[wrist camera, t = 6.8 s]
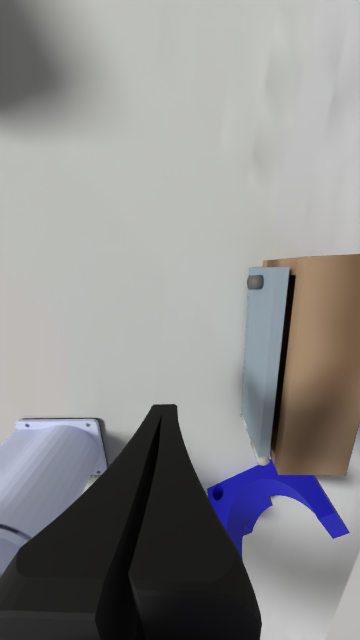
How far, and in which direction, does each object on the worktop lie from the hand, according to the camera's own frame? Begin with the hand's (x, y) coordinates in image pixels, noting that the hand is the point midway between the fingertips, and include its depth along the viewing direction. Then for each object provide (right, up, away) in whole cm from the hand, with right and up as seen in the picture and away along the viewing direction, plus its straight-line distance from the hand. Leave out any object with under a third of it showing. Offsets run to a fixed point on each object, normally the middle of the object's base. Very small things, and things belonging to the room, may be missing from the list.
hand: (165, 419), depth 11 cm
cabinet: (+11, +3, +7) cm, 13 cm away
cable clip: (+10, -14, +12) cm, 21 cm away
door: (+7, +3, +7) cm, 10 cm away
